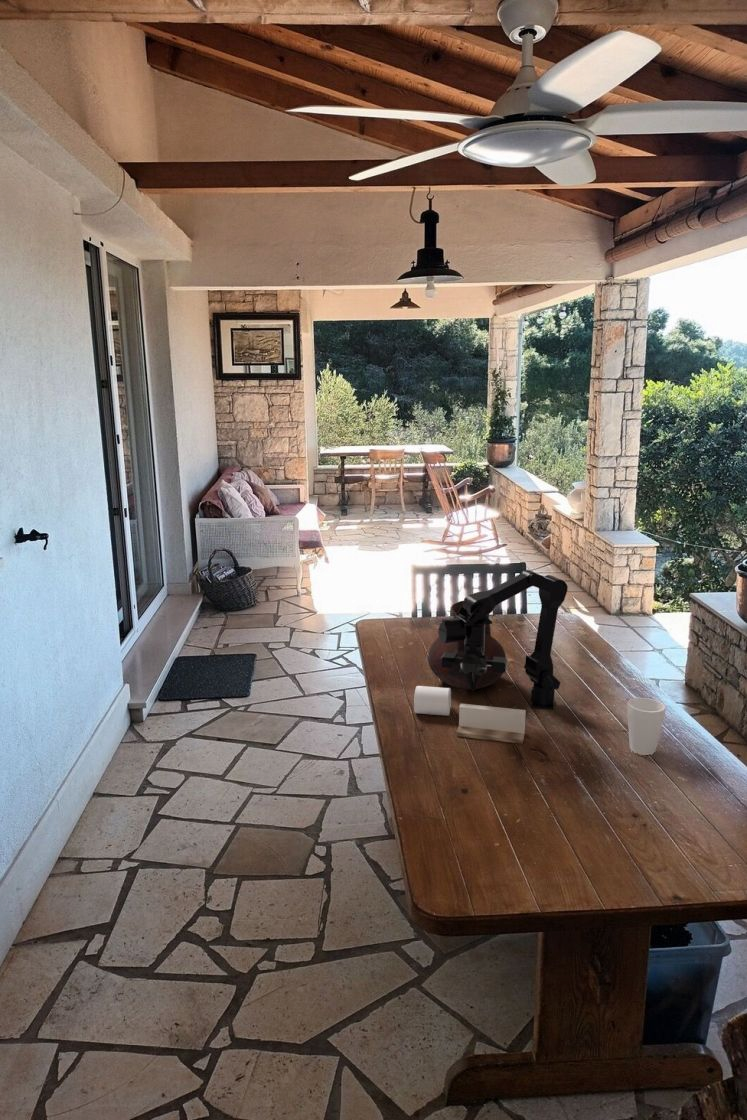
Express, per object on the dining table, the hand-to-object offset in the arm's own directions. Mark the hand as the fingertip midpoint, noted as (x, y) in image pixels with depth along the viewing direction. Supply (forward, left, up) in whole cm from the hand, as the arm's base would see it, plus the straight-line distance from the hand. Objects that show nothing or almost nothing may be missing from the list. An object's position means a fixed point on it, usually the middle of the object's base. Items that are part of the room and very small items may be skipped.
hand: (473, 690), depth 226 cm
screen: (-7, +12, -8) cm, 16 cm away
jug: (+5, -24, -8) cm, 26 cm away
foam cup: (-47, +11, -8) cm, 49 cm away
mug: (+12, 0, -8) cm, 14 cm away
